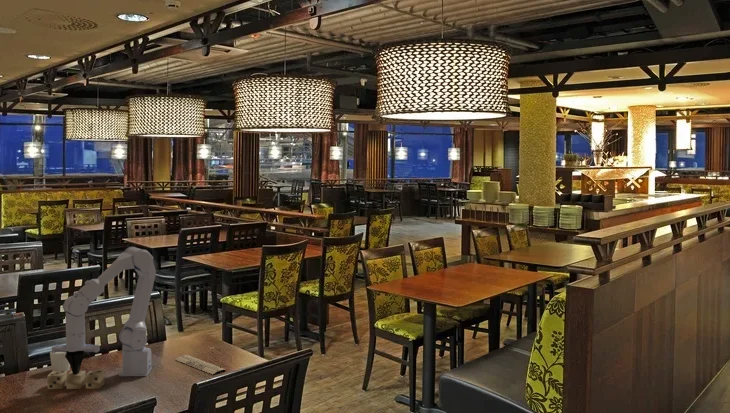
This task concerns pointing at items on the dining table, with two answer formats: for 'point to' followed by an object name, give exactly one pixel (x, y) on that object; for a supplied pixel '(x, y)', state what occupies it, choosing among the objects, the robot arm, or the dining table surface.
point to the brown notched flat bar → (199, 364)
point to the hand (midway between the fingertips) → (76, 373)
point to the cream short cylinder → (59, 361)
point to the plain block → (76, 380)
